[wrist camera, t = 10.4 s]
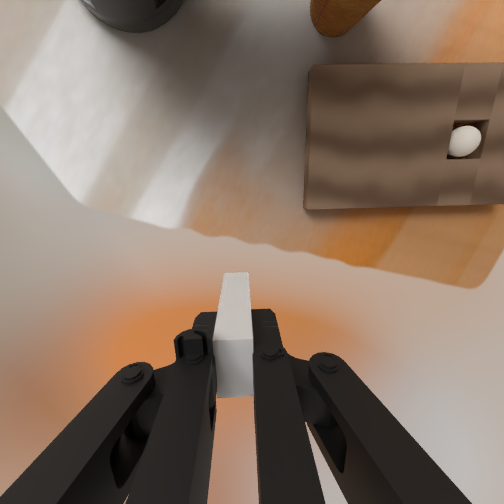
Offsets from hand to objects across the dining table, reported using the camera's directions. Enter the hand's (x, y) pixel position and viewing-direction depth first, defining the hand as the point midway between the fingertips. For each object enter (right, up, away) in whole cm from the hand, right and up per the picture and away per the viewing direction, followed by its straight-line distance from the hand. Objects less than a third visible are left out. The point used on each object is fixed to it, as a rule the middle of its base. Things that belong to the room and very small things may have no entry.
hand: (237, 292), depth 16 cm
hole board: (+24, +19, +21) cm, 37 cm away
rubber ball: (+30, +18, +19) cm, 40 cm away
